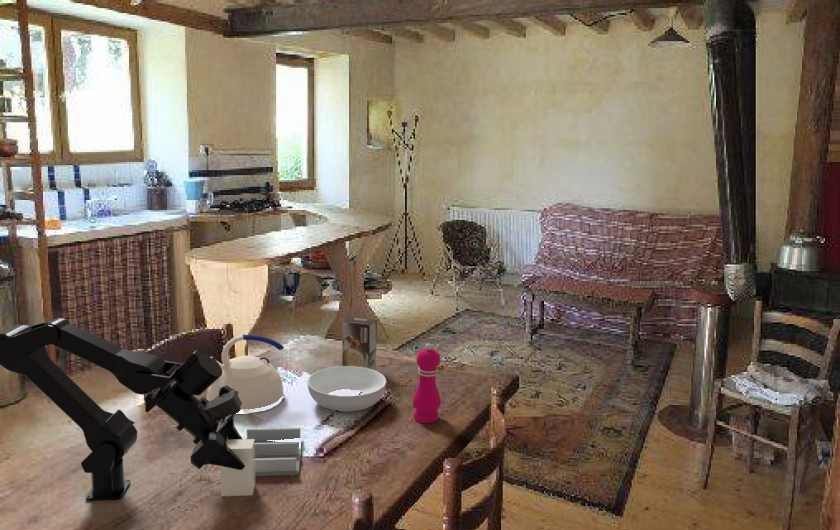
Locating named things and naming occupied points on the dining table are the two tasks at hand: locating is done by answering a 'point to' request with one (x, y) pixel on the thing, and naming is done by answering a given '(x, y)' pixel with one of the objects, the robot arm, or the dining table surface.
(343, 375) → the serving bowl
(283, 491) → the dining table surface
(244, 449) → the cream upright block
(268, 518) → the dining table surface
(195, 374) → the robot arm
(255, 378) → the kettle
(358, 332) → the coffee box
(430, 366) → the pepper mill
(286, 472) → the plate rack
